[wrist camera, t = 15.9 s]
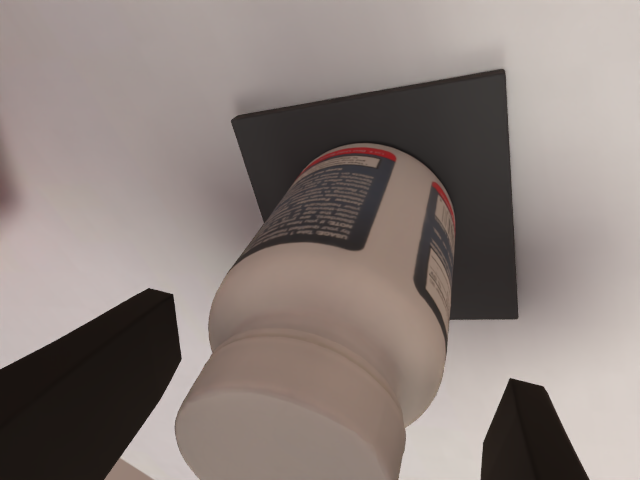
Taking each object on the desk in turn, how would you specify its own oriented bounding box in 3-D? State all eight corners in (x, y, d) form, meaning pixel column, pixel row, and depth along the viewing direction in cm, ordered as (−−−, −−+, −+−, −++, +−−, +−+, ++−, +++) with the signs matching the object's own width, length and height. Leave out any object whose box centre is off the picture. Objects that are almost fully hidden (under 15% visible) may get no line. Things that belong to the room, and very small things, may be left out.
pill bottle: (267, 229, 17) (105, 451, 10) (342, 104, 14) (189, 291, 7) (393, 310, 17) (329, 585, 10) (494, 206, 14) (508, 492, 7)
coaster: (299, 312, 19) (295, 320, 19) (236, 115, 15) (229, 120, 15) (517, 310, 16) (518, 320, 16) (504, 68, 13) (505, 72, 12)
